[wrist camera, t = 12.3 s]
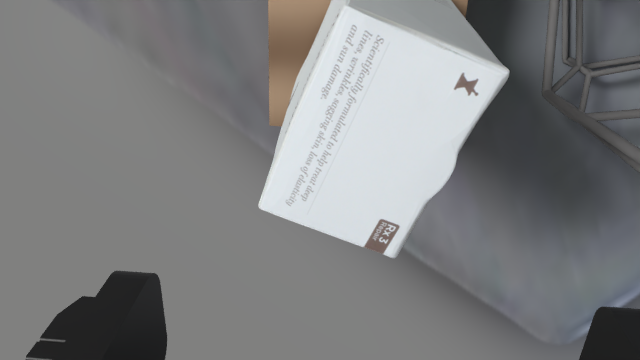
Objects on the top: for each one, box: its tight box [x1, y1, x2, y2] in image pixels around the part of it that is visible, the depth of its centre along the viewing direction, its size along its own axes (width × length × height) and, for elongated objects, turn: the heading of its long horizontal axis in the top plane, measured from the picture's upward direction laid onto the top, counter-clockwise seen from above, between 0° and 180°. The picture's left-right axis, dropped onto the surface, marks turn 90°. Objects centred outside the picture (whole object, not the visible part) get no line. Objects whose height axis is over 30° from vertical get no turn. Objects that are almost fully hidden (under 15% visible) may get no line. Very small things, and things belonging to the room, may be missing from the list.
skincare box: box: [259, 0, 510, 258], centre depth 24 cm, size 8×6×15 cm
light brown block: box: [268, 0, 468, 126], centre depth 34 cm, size 11×11×6 cm
